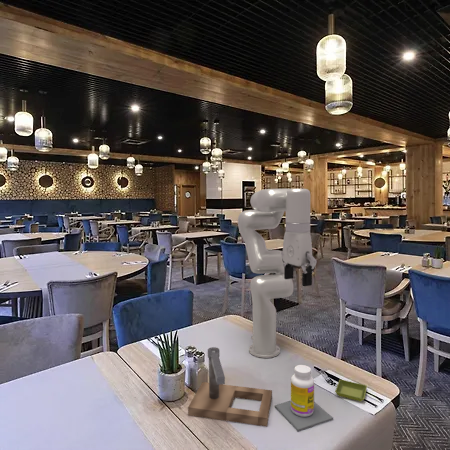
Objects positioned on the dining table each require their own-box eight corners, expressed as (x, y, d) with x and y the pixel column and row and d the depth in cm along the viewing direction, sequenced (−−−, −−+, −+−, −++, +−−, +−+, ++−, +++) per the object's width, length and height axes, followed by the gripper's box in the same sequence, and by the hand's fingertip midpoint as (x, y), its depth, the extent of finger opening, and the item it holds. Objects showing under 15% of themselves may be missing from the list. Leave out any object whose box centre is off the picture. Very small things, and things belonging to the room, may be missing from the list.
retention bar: (207, 354, 106) (207, 347, 106) (218, 353, 107) (218, 346, 106) (214, 385, 88) (213, 377, 88) (227, 383, 89) (227, 376, 89)
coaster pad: (274, 407, 104) (274, 405, 104) (307, 397, 108) (307, 395, 108) (297, 431, 93) (297, 429, 93) (333, 419, 97) (333, 417, 97)
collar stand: (188, 415, 100) (187, 365, 99) (202, 389, 114) (201, 345, 113) (266, 426, 95) (266, 374, 94) (272, 397, 108) (272, 352, 107)
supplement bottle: (309, 420, 96) (309, 376, 95) (287, 413, 100) (287, 370, 99) (316, 408, 102) (317, 366, 101) (295, 401, 105) (295, 361, 104)
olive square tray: (339, 384, 116) (339, 378, 116) (367, 391, 112) (367, 385, 112) (334, 398, 109) (334, 391, 108) (364, 405, 105) (364, 399, 104)
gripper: (273, 226, 114) (273, 277, 115) (304, 231, 98) (304, 290, 99) (292, 225, 117) (291, 275, 118) (325, 230, 101) (325, 287, 102)
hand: (297, 282), depth 109 cm, fingers open, 9 cm apart
